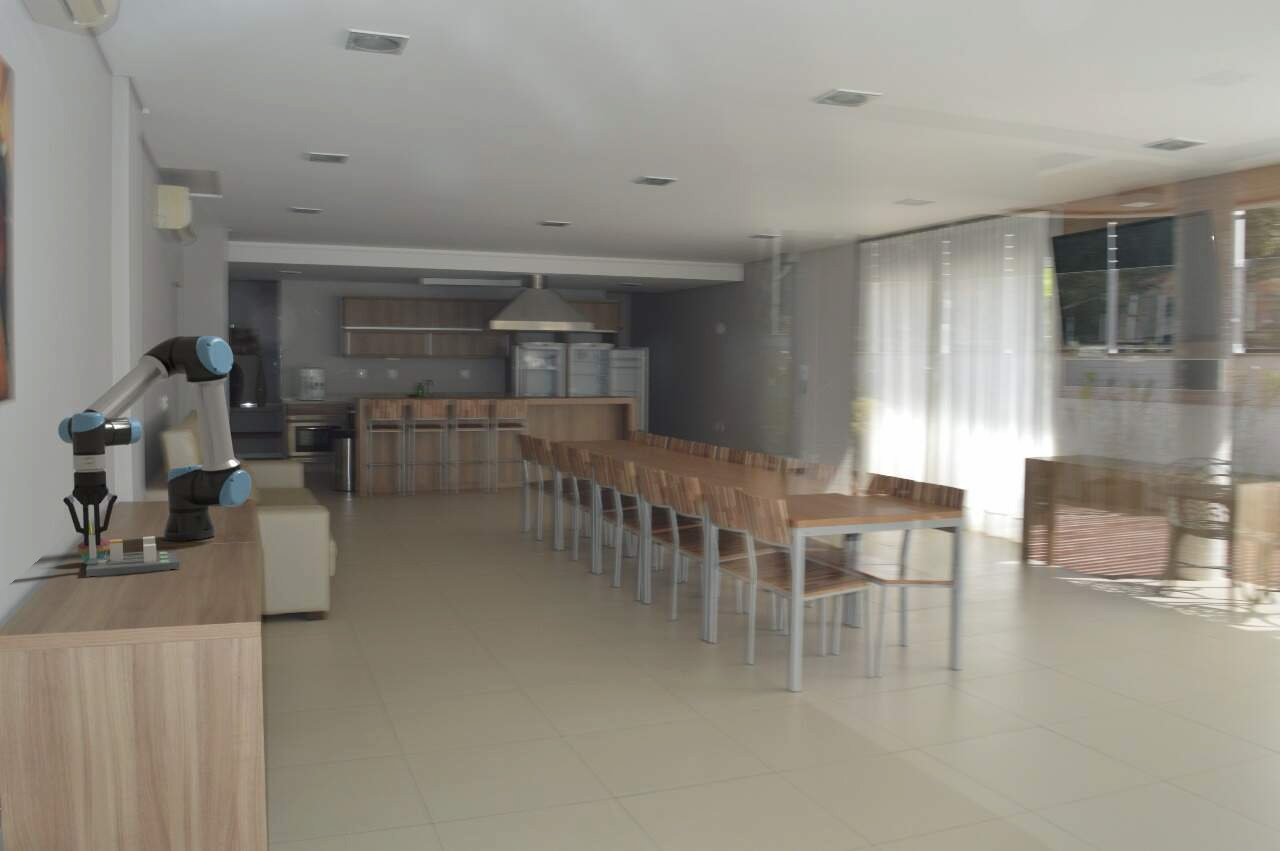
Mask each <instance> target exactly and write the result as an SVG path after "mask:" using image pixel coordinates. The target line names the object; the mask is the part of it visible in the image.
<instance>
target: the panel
mask: <svg viewBox="0 0 1280 851" xmlns="http://www.w3.org/2000/svg"><path fill="white" fill-rule="evenodd" d="M142 546H143V547H142V548H143V549H142V550H143V551H139V552H138V551H137V552H128V553H127V552H126V553H124V552H123V560H122V561H110V554H109V555H108V557H106V558H96V559H89V560H88V564H87V565H86V568H85V574H86V576H85V577H86V578H91V577H90V576H96V577H105V576H118V575H130V574H140V573H141V574H142V573H152V572H151V571H154V572H161V571H160V570H165V571H170V570H169V569H177V568H179V569H180V559H179V556H178V552H177V551H173V552H168V551H159V553H158V550H157V544H156V536H155V535H154V536H152V535H151V536H143V537H142ZM177 570H178V569H177Z"/></svg>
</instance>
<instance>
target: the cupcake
mask: <svg viewBox="0 0 1280 851" xmlns="http://www.w3.org/2000/svg"><path fill="white" fill-rule="evenodd" d="M92 528H93V527H92V523H91V521H90V520H89V533H93V529H92ZM100 539H101V543H100V545H97V546H96V558H107V555H108V552H109V551H110V540H107V539H106V538H100ZM76 551H77V553H78V554H79V555H80V556H81V558H82V561H83V563H84V565H85V564H88V560H89V559H90V556H89V546H85V545H84V540H82V541H81V542H79V544H78V545H77V550H76Z"/></svg>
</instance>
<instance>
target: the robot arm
mask: <svg viewBox="0 0 1280 851" xmlns="http://www.w3.org/2000/svg"><path fill="white" fill-rule="evenodd" d="M137 363H138V364H137V365H136V366H135V367H133V368H132V369H131V370H130V371H129V372H128V373H126V375H124V376H123V377H122V378H121V379H120V380H118V381H117V382H116V383H115V384H114V385H113V386H111V387H110V388H109V389H108V390H107V391H105V393H103V394H102V395H101V396H100V397H98V398H97V399H96V400H95V401H94V402H92V403H91V404H90V405H89V407H87V408H86V409H84V410H83V411H82V412H77V413H74V414H73V415H72V416H71V417H65V418H64V419H61V421H60V423H59V425H58V427H57V428H58V430H57V431H58V432H57V433H58V436H59V438H60V439H61V441H63V442H64V443H67V444H72V454H73V455H72V463H73V467H72V468H73V470H74V471H75V472H74V473H73V489H72V492H71V494H69V495H68V496H65V497H64V498H63V500H62V501H63V503H64V504H65V505H66V506H67V508H68V511H69V515H70V517H71V520H72V523H73V527H74V529H75V532H76V533H77V534H82V535H83V541H84V545H85V546H89V556H90V559H96V546H97V545H100V543H101V539H102V538H101V534H102V532H106V531H108V528H109V525H110V520H111V516H112V511H113V507H114V504H115V503H116V501H117V500H118V494H115V493H112V492H110V490H109V488H108V485H107V471H105V470H104V469H106V466H107V464H106V463H107V462H106V447H112V446H113V447H114V446H117V447H118V446H130V445H131V444H137V443H138V442H139V441H140V440H141V438H142V436H143V426H142V424H141V422H140V421H139V420H138V419H136V418H134V417H127V416H124V417H123V416H122V415H123V414H124V413H126V412H127V411H128V410H129V409H130V408H131V407H133V405H134V404H136V402H138V401H139V400H140V399H141V398H142V397H144V395H145V394H147V393H148V392H149V391H151V389H153V388H154V387H155V386H156V384H158V383H164V382H165V381H166V380H168V379H169V378H170V377H173V376H176V375H185V377H186V380H185V381H186V383H187V384H188V385H190V386H191V387H192V389H193V394H194V401H195V408H196V414H197V420H198V426H199V433H200V439H201V447H202V453H203V458H204V462H203V464H197V465H195V464H194V465H189V466H188V465H187V466H181V467H174V468H171V469H169V471H168V473H167V494H168V495H167V496H168V498H167V499H168V517H167V520H166V524H165V527H164V529H163V540H164V539H166V540H165V541H168V540H192V541H194V540H193V539H201V540H203V539H202V538H207V539H209V538H208V537H211V538H213V537H212V536H214V535H215V536H216V527H215V525H214V523H213V520H212V517H211V515H210V508H209V507H220V508H221V507H222V508H235V507H236V508H237V507H239V506H241V505H243V504H244V502H246V500H248V497H249V495H250V493H251V491H252V478H251V476H250V474H249V473H248V472H247V471H245V470H243V469H242V466H241V462H240V460H238V459H237V458H235V454H234V448H233V442H232V435H231V433H232V432H231V427H230V422H229V414H228V407H227V401H226V395H225V394H226V393H225V387H224V383H225V382H226V380H227V379H228V373H229V372H230V371H231V370H232V368H233V364H234V354H233V351H232V349H231V347H230V345H229V343H228V342H227V341H225V340H224V339H223V338H221V337H219V336H214V335H213V336H211V335H191V336H188V335H187V336H185V335H184V336H183V335H181V336H173V337H170V338H168V339H165V340H164V341H162V342H159V343H158V344H157V345H155V346H154V347H152V348H151V349H149V350H148V351H146V353H144V354H143V355H142V356H141V357H140V358H139V359H138V362H137ZM121 416H122V417H121ZM106 497H107V501H108V504H107V508H106V512H105V516H104V519H103V524H102V526H101V519H100V518H101V516H100V515H101V514H100V513H101V512H100V504H101V503H102V502H103V500H104V499H105V498H106ZM74 498H75V499H76V501H78V502H79V504H80V505H82V521H83V522H82V524H83V527H82V526H81V523H80V519H79V517H78V514H77V511H76V507H75V505H74V503H75V499H74ZM89 506H93V513H94V514H93V517H94V518H93V519H94V532H92V533H90V532H89V521H90V516H89V514H90V512H89V511H90V510H89V509H90V508H89ZM215 536H214V537H215Z"/></svg>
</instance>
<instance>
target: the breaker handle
mask: <svg viewBox="0 0 1280 851" xmlns="http://www.w3.org/2000/svg"><path fill="white" fill-rule="evenodd" d="M109 542H110V550H109V555H110V561H122V560H123V554H124V548H123V547H124V546H123V545H124V544H123V538H118V539H110V540H109Z"/></svg>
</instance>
